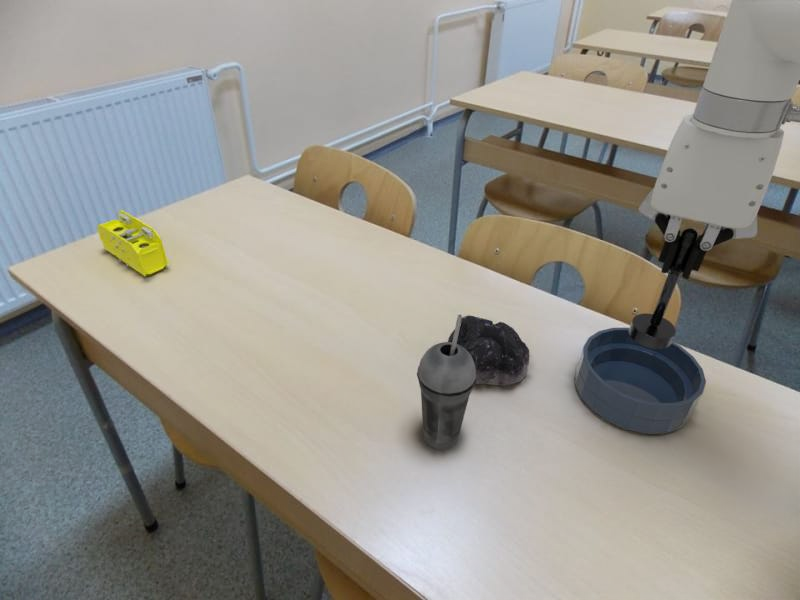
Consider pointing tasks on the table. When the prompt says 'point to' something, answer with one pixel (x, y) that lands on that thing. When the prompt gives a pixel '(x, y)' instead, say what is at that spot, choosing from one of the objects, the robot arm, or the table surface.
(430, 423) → the beverage cup
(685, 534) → the table surface
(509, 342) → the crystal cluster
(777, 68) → the robot arm
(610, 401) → the bowl
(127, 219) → the yellow toy chassis
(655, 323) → the disc-capped black rod
